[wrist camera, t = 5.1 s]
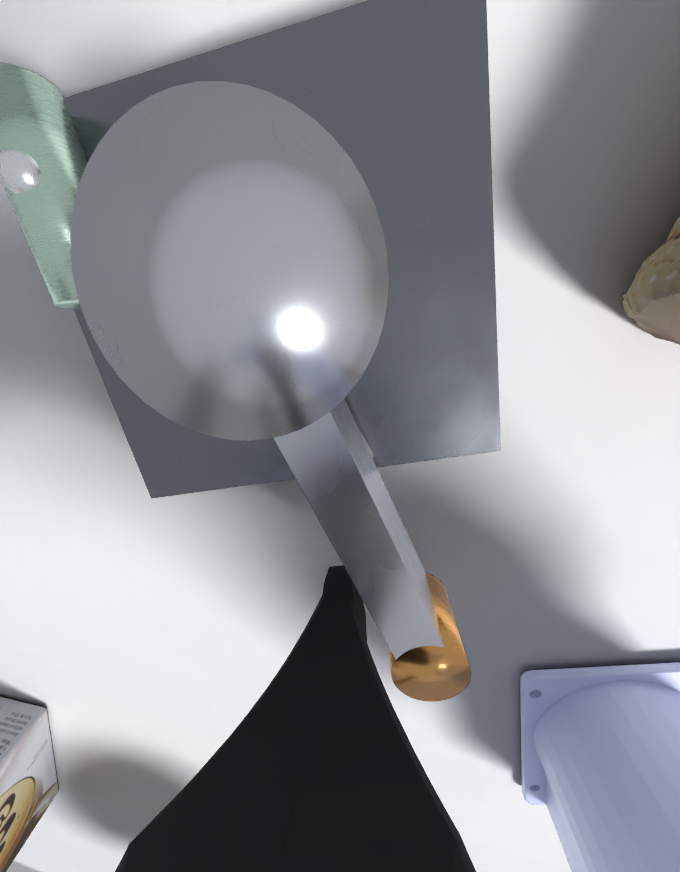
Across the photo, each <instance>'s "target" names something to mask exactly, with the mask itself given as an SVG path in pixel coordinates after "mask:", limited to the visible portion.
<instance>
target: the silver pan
mask: <svg viewBox="0 0 680 872" xmlns="http://www.w3.org/2000/svg"><path fill="white" fill-rule="evenodd" d="M70 254H71V263H72V272H73V279H74V283H75V288H76V292H77V296H78V300H79V303H80V306H81V309H82V312H83V315H84V318H85V320H86V323H87V325H88V327H89V329H90V331H91V334H92V336H93V338H94V340H95V342H96V343H97V345H98V347H99V349H100V350H101V352H102V354H103V355H104V357H105V359H106V360H107V361H108V363H109V364H110V365H111V367H112V368H113V369H114V371H115V372H116V374H117V375H118V376H119V377H120V378H121V379H122V380H123V382H124V383H125V384H126V385H127V386H128V387H129V388H130V389H131V390H132V391H133V392H134V393H135V394H136V395H137V396H138V397H139V398H141V399H142V400H143V401H144V402H145V403H146V404H147V405H149V406H150V407H152V408H153V409H154V410H156V411H157V412H159V413H160V414H161V415H163V416H165V417H166V418H168V419H170V420H172V421H173V422H175V423H177V424H179V425H181V426H183V427H186V428H188V429H191V430H193V431H195V432H198V433H202V434H205V435H208V436H212V437H217V438H223V439H228V440H244V441H251V440H263V439H270V438H274V440H275V442H276V443H277V445H278V447H279V449H280V451H281V452H282V454H283V456H284V458H285V460H286V461H287V463H288V465H289V467H290V469H291V470H292V472H293V474H294V476H295V478H296V480H297V481H298V483H299V485H300V487H301V489H302V490H303V492H304V494H305V496H306V498H307V499H308V501H309V503H310V505H311V507H312V509H313V510H314V512H315V514H316V516H317V518H318V519H319V521H320V523H321V525H322V527H323V528H324V530H325V532H326V534H327V536H328V538H329V539H330V541H331V543H332V545H333V547H334V548H335V550H336V552H337V554H338V556H339V557H340V559H341V561H342V563H343V565H344V567H345V568H346V570H347V572H348V574H349V576H350V577H351V579H352V581H353V583H354V585H355V586H356V588H357V590H358V592H359V594H360V596H361V597H362V599H363V601H364V603H365V605H366V606H367V608H368V610H369V612H370V614H371V615H372V617H373V619H374V621H375V623H376V625H377V626H378V628H379V630H380V632H381V634H382V635H383V637H384V639H385V641H386V643H387V644H388V646H389V649H390V662H391V675H392V680H393V682H394V684H395V685H396V687H397V688H398V689H399V690H400V691H401V692H403V693H404V694H406V695H407V696H409V697H412V698H414V699H418V700H423V701H441V700H446V699H449V698H452V697H454V696H456V695H458V694H459V693H461V692H462V691H463V690H464V689H465V688H466V687H467V685H468V683H469V681H470V678H471V670H470V666H469V663H468V660H467V657H466V653H465V650H464V647H463V643H462V640H461V637H460V634H459V630H458V627H457V624H456V621H455V617H454V614H453V611H452V608H451V604H450V601H449V598H448V595H447V591H446V589H445V586H444V585H443V583H442V582H441V581H440V580H439V579H438V578H436V577H435V576H433V575H431V574H428V573H426V572H425V570H424V567H423V565H422V563H421V561H420V559H419V557H418V555H417V553H416V550H415V548H414V546H413V544H412V542H411V540H410V538H409V535H408V533H407V531H406V529H405V527H404V525H403V523H402V520H401V518H400V516H399V514H398V512H397V510H396V508H395V505H394V503H393V501H392V499H391V497H390V495H389V493H388V491H387V488H386V486H385V484H384V482H383V480H382V478H381V476H380V473H379V471H378V469H377V467H376V465H375V463H374V461H373V458H372V456H371V454H370V452H369V450H368V448H367V446H366V443H365V441H364V439H363V437H362V435H361V433H360V431H359V429H358V426H357V424H356V422H355V420H354V418H353V416H352V414H351V411H350V409H349V407H348V405H347V403H346V401H345V399H344V398H345V397H346V396H347V395H348V393H349V392H350V391H351V390H352V389H353V387H354V386H355V385H356V384H357V382H358V381H359V379H360V378H361V376H362V374H363V373H364V371H365V370H366V368H367V366H368V364H369V362H370V360H371V358H372V356H373V354H374V351H375V349H376V347H377V344H378V341H379V338H380V335H381V331H382V328H383V325H384V319H385V314H386V308H387V302H388V286H389V273H388V256H387V250H386V244H385V239H384V233H383V229H382V226H381V222H380V219H379V216H378V213H377V209H376V206H375V204H374V201H373V199H372V197H371V195H370V193H369V190H368V188H367V186H366V184H365V181H364V180H363V178H362V176H361V175H360V173H359V171H358V170H357V168H356V167H355V165H354V163H353V162H352V160H351V158H350V157H349V156H348V155H347V153H346V152H345V151H344V150H343V148H342V147H341V146H340V145H339V143H338V142H337V141H336V140H335V138H334V137H333V136H332V135H331V134H330V133H328V132H327V131H326V130H325V129H324V128H323V127H322V126H321V125H320V124H319V123H318V122H317V121H316V120H315V119H314V118H312V117H311V116H309V115H308V114H307V113H305V112H304V111H302V110H301V109H300V108H298V107H297V106H295V105H294V104H292V103H290V102H288V101H286V100H284V99H282V98H280V97H278V96H276V95H274V94H273V93H271V92H268V91H265V90H262V89H258V88H255V87H252V86H249V85H246V84H239V83H233V82H226V81H197V82H192V83H187V84H183V85H178V86H173V87H171V88H168V89H166V90H163V91H161V92H158V93H156V94H153V95H151V96H150V97H148V98H146V99H145V100H143V101H142V102H140V103H138V104H137V105H135V106H134V107H132V108H131V109H130V110H129V111H127V112H126V113H125V114H124V115H123V116H122V117H121V118H120V119H119V120H117V121H116V122H115V123H114V124H113V126H112V127H111V128H110V129H109V130H108V132H107V133H106V134H105V135H104V137H103V138H102V139H101V140H100V142H99V143H98V145H97V147H96V149H95V150H94V152H93V154H92V155H91V157H90V159H89V161H88V163H87V165H86V168H85V170H84V173H83V175H82V178H81V180H80V183H79V186H78V190H77V194H76V198H75V202H74V206H73V213H72V221H71V229H70Z"/></svg>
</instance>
